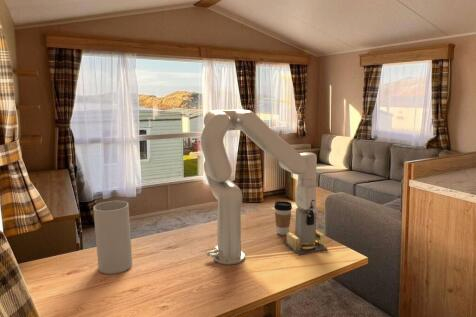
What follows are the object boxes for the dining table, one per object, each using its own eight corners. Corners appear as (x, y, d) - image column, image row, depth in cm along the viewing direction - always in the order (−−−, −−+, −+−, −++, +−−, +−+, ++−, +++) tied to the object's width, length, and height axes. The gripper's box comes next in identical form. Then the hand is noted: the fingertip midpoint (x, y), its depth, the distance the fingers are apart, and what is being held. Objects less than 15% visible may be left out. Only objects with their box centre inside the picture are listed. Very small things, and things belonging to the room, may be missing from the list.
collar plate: (298, 255, 148) (299, 241, 147) (283, 243, 160) (284, 230, 159) (327, 250, 153) (327, 236, 152) (310, 238, 165) (311, 226, 164)
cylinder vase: (138, 261, 144) (134, 202, 139) (120, 276, 132) (115, 212, 127) (111, 258, 147) (107, 199, 142) (91, 272, 135) (86, 209, 131)
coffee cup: (271, 230, 175) (271, 201, 173) (286, 228, 178) (287, 199, 175) (278, 236, 168) (278, 206, 165) (294, 234, 170) (295, 204, 167)
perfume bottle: (315, 242, 154) (317, 203, 150) (300, 243, 153) (301, 203, 149) (309, 236, 160) (311, 197, 157) (295, 237, 159) (296, 198, 156)
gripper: (289, 178, 158) (288, 216, 161) (310, 187, 142) (308, 230, 145) (303, 176, 161) (302, 214, 164) (326, 185, 145) (324, 227, 148)
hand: (305, 221), depth 155 cm, fingers closed on perfume bottle, 6 cm apart
